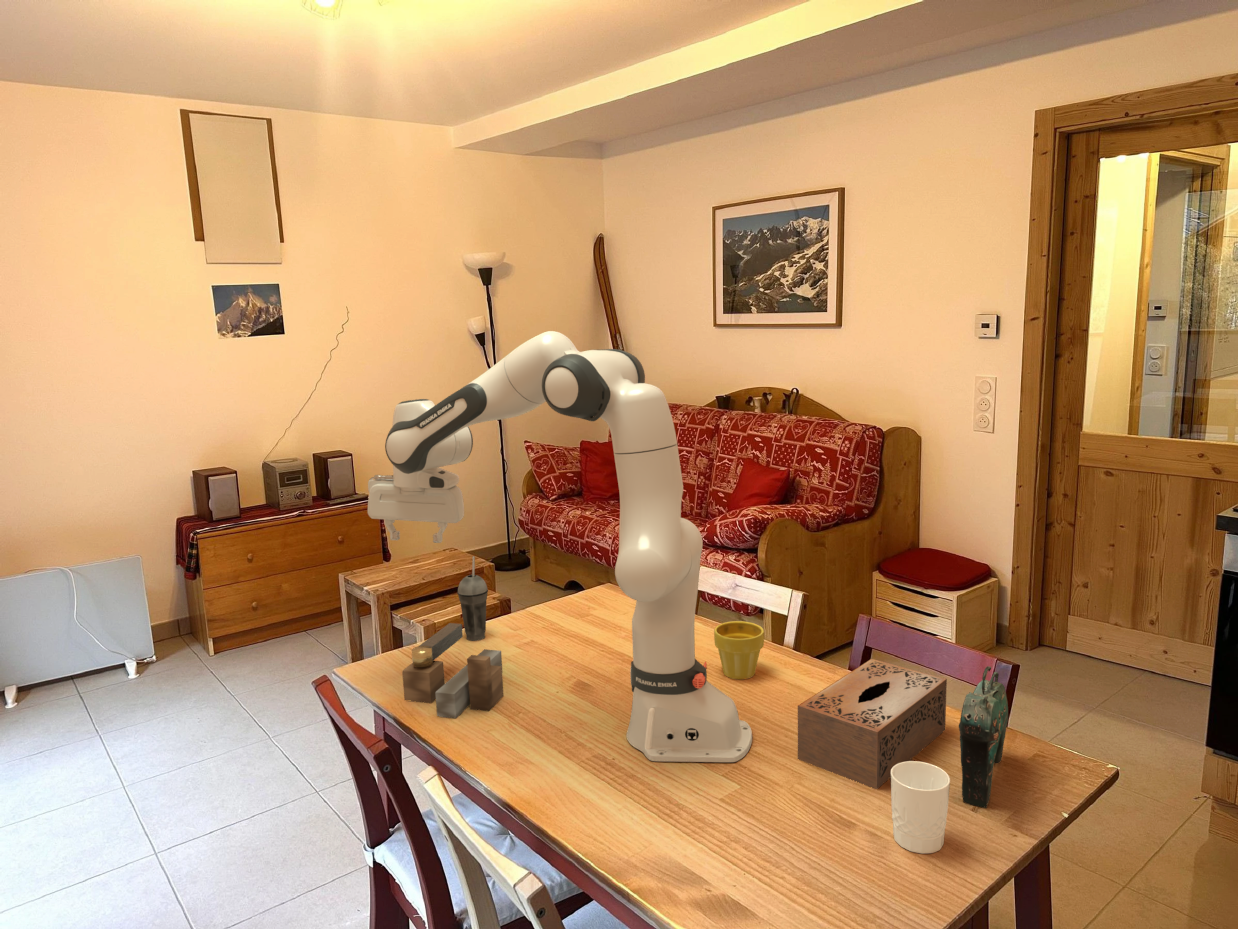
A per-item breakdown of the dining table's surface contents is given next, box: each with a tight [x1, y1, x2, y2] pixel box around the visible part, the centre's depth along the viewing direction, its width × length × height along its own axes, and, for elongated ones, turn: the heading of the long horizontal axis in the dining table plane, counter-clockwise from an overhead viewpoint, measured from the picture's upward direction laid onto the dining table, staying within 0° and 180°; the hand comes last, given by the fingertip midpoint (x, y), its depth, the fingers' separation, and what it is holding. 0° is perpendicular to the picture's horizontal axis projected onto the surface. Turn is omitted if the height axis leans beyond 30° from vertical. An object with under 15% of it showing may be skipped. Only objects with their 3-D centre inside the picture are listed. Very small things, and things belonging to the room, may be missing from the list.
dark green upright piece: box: [958, 665, 1009, 809], centre depth 134 cm, size 20×6×20 cm, turn 147°
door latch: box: [401, 649, 504, 719], centre depth 174 cm, size 19×22×10 cm
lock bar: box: [411, 622, 464, 667], centre depth 178 cm, size 17×4×3 cm, turn 164°
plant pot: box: [713, 620, 765, 680], centre depth 178 cm, size 10×10×10 cm
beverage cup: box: [457, 555, 489, 642], centre depth 203 cm, size 7×7×20 cm
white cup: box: [890, 760, 951, 854], centre depth 120 cm, size 8×8×10 cm
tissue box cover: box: [797, 658, 948, 790], centre depth 147 cm, size 26×14×10 cm, turn 136°
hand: (416, 541), depth 179 cm, fingers open, 8 cm apart
